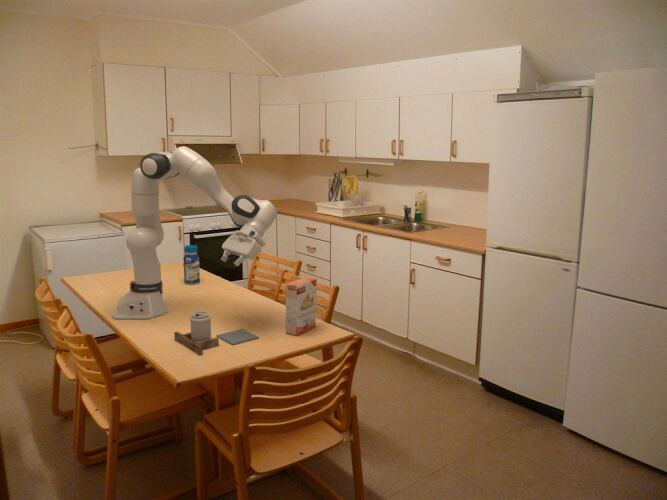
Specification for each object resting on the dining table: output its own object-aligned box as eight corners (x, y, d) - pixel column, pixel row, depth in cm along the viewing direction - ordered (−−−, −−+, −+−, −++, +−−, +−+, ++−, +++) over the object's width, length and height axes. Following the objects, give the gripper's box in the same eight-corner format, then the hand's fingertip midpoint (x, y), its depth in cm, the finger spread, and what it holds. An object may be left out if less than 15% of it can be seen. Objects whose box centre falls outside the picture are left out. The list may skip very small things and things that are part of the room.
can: (192, 340, 219) (191, 310, 217) (212, 339, 220) (211, 310, 217) (189, 347, 212) (188, 316, 209) (209, 347, 213) (209, 316, 210)
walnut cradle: (199, 355, 205) (199, 347, 204) (174, 339, 219) (174, 332, 219) (224, 348, 211) (223, 341, 210) (198, 333, 226) (197, 326, 225)
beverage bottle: (193, 280, 306) (191, 243, 302) (203, 282, 302) (202, 245, 297) (180, 283, 300) (179, 246, 296) (191, 285, 295) (189, 248, 291)
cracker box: (297, 336, 225) (297, 285, 221) (284, 333, 228) (285, 283, 224) (316, 326, 237) (317, 278, 233) (304, 324, 240) (305, 276, 236)
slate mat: (232, 345, 215) (232, 343, 214) (216, 336, 223) (216, 335, 223) (259, 338, 222) (259, 336, 222) (242, 330, 231) (242, 328, 231)
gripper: (230, 227, 233) (210, 253, 229) (259, 234, 219) (237, 262, 214) (240, 236, 237) (220, 262, 233) (268, 244, 222) (248, 272, 218)
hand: (229, 262), depth 223 cm, fingers open, 8 cm apart
